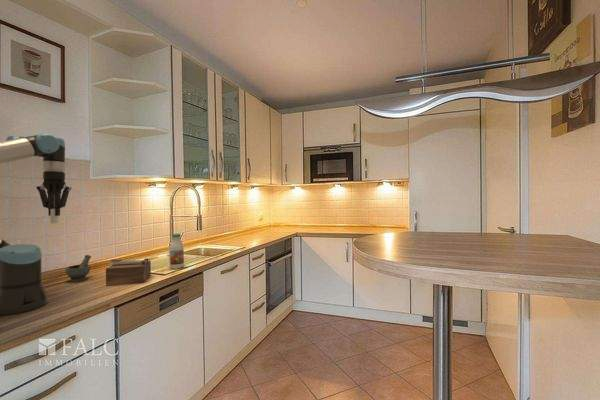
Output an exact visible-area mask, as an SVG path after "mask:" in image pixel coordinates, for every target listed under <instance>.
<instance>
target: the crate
mask: <svg viewBox="0 0 600 400" xmlns="http://www.w3.org/2000/svg"><path fill="white" fill-rule="evenodd" d="M143 260H147V262H145V261H141V264H136V263H112V265H109V266H107V267H106V268H105V286H108V287H110V286H120V285H121V286H123V285H130V284H131V285H134V284H144V283H146V281H147V280H148V279H149V277H151V275H152V274H151V271H152V269H151V268H152V267H151V266H152V265H151V260H149V258H144V259H143Z"/></svg>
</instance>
